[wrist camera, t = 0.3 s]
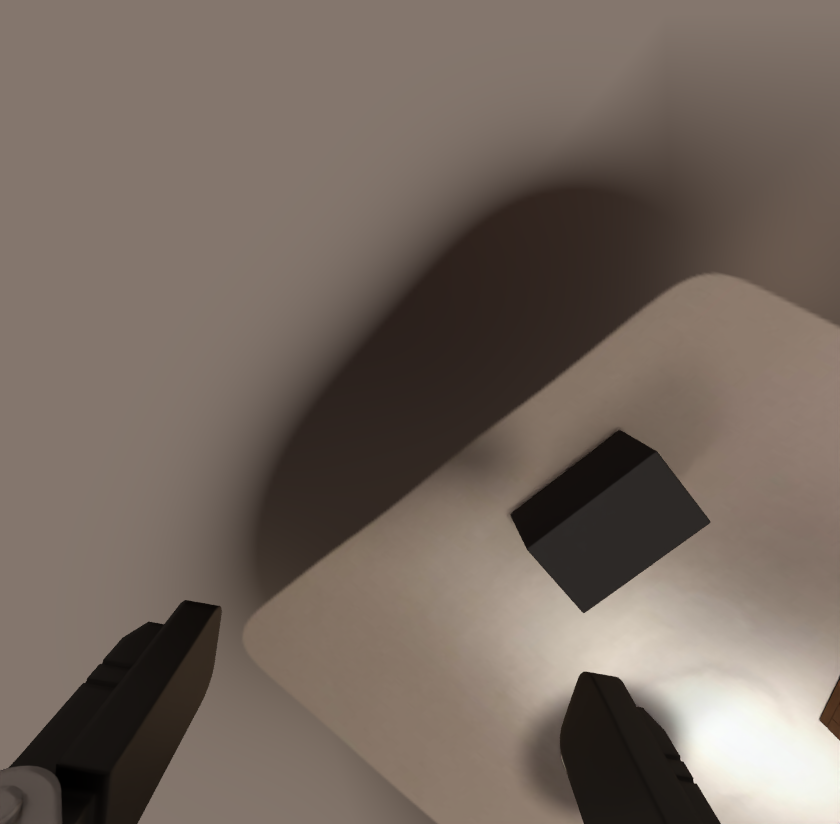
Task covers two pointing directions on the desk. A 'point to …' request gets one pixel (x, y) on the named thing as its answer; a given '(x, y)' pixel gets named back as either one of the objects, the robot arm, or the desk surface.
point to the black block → (608, 519)
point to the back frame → (833, 713)
